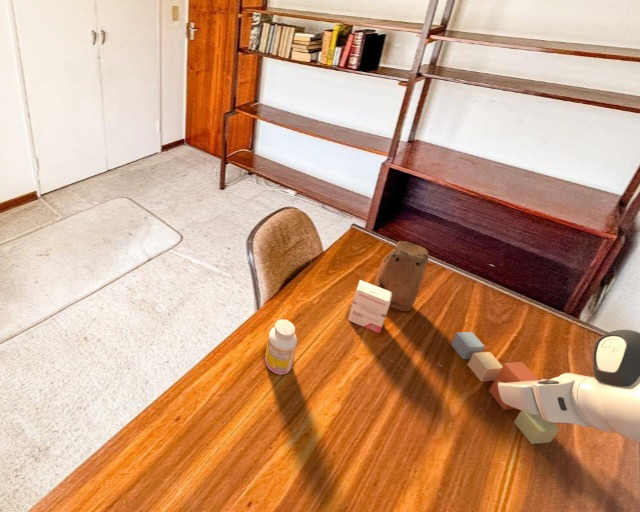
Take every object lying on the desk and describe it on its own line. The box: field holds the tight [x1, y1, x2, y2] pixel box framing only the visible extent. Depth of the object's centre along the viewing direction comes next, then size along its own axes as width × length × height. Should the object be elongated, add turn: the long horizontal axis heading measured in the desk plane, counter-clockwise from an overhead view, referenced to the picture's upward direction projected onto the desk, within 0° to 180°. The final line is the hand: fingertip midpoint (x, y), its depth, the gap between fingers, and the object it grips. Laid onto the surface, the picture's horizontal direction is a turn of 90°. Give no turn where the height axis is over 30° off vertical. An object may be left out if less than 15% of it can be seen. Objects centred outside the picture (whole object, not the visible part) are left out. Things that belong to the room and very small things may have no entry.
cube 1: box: [513, 410, 560, 445], centre depth 85 cm, size 4×4×4 cm
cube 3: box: [450, 331, 486, 360], centre depth 103 cm, size 4×4×4 cm
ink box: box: [347, 279, 392, 334], centre depth 109 cm, size 9×5×12 cm, turn 58°
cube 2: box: [467, 351, 503, 382], centre depth 98 cm, size 4×4×4 cm
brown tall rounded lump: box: [373, 240, 429, 312], centre depth 115 cm, size 11×8×20 cm
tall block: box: [488, 361, 540, 411], centre depth 90 cm, size 4×4×10 cm
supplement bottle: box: [264, 319, 298, 375], centre depth 96 cm, size 7×7×13 cm
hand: (519, 384), depth 89 cm, fingers open, 8 cm apart
